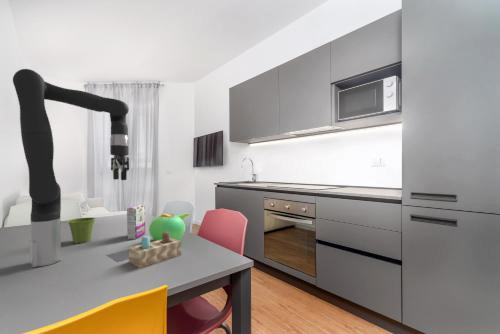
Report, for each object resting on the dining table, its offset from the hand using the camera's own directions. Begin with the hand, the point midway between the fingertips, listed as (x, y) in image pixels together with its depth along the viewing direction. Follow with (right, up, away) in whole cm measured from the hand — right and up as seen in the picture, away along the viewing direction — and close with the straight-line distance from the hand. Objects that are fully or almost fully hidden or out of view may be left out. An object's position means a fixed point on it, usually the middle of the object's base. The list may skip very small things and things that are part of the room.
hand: (119, 179), depth 115 cm
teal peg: (+19, -32, -16) cm, 41 cm away
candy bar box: (-1, -32, +20) cm, 38 cm away
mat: (+7, -32, -8) cm, 34 cm away
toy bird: (+19, -32, +10) cm, 39 cm away
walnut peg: (+25, -32, -10) cm, 42 cm away
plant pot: (-26, -33, +11) cm, 43 cm away
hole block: (+22, -32, -13) cm, 41 cm away
